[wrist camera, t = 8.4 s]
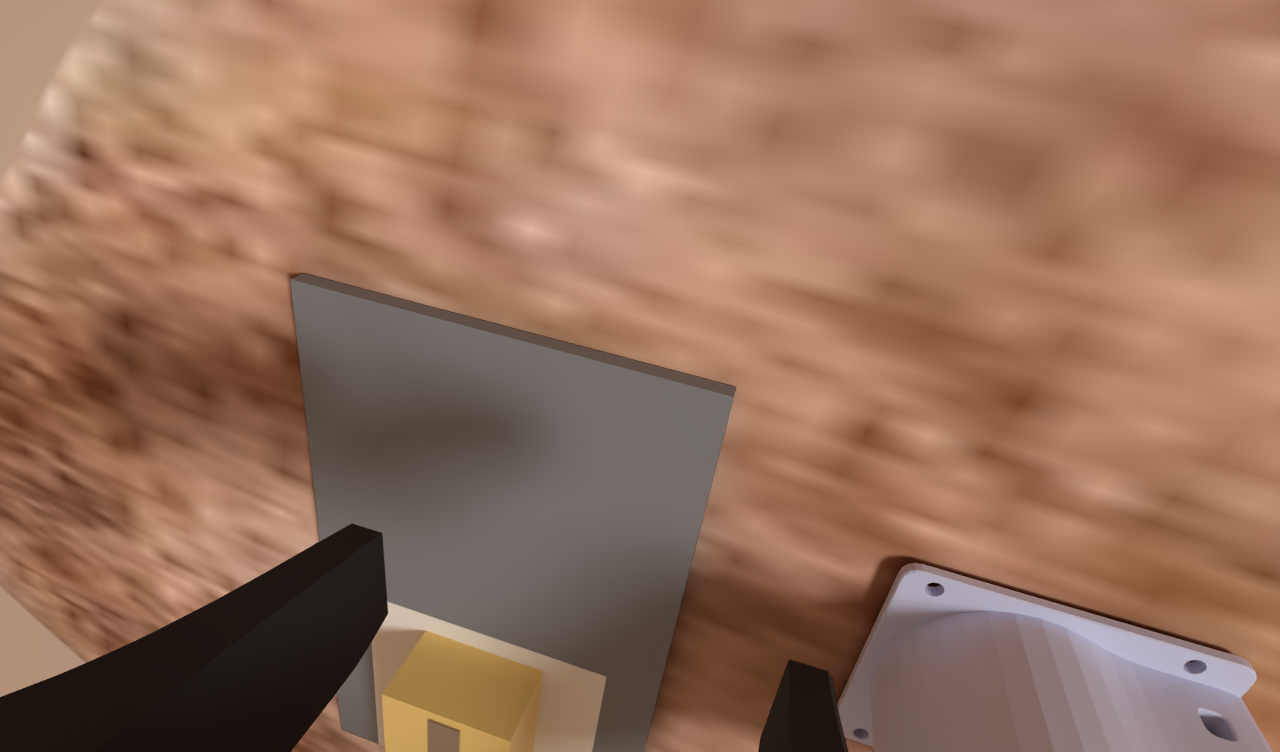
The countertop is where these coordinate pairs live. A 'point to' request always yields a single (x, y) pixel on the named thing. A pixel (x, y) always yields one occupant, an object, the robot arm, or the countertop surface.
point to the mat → (509, 500)
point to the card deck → (460, 701)
